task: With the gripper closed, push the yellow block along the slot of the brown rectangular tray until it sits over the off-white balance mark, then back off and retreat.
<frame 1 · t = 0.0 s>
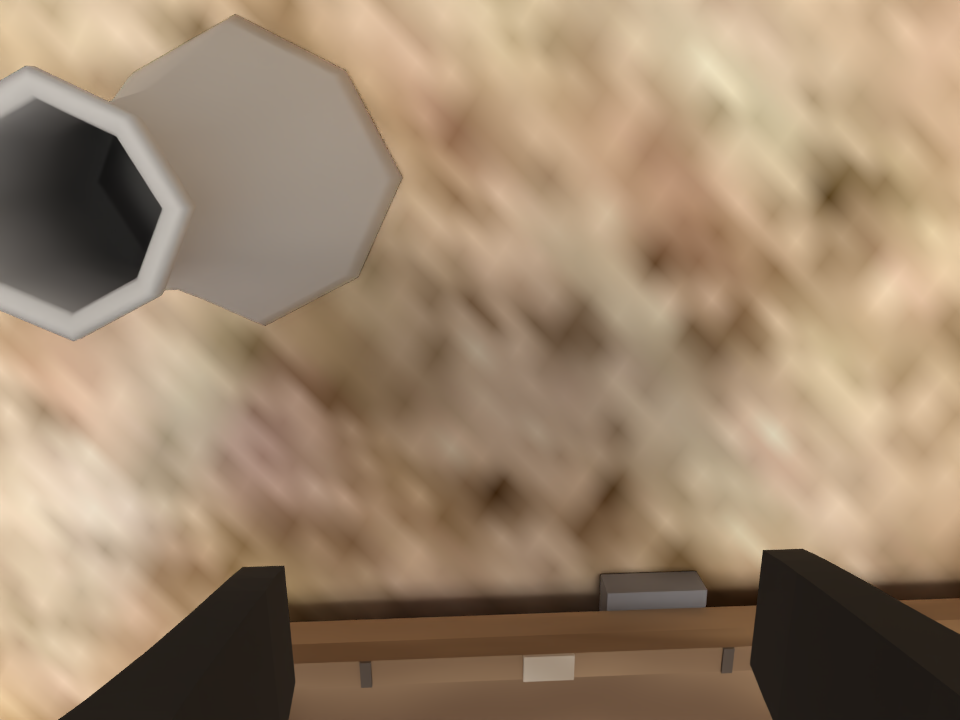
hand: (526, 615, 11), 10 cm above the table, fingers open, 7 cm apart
flask: (255, 178, 19), on the table
brown rectangular tray: (641, 679, 23), on the table
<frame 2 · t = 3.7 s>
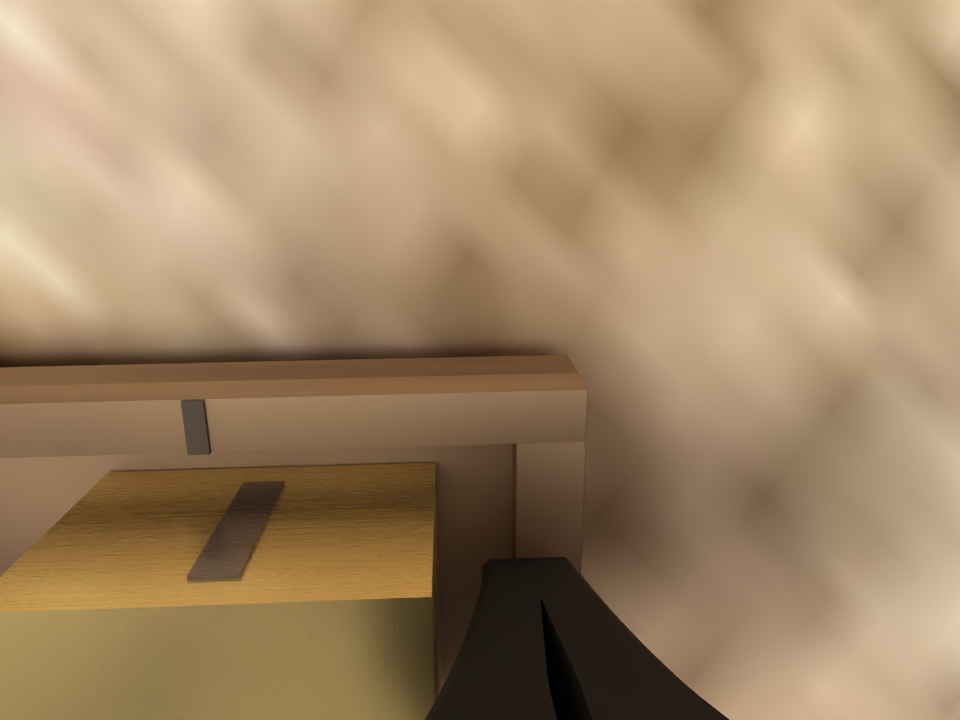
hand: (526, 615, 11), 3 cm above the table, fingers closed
yellow block: (258, 652, 10), point 4 cm above the table, slide at -7.3 cm, touching gripper
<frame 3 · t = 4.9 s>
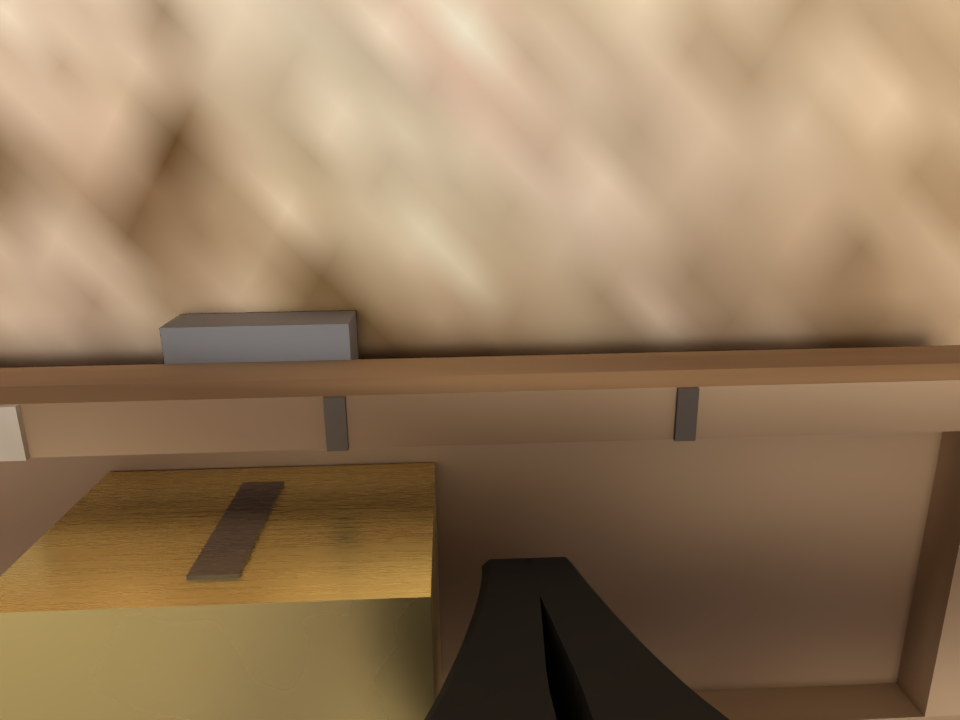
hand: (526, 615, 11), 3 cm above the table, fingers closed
brown rectangular tray: (288, 518, 14), on the table
yellow block: (257, 652, 10), point 4 cm above the table, slide at -0.3 cm, touching gripper
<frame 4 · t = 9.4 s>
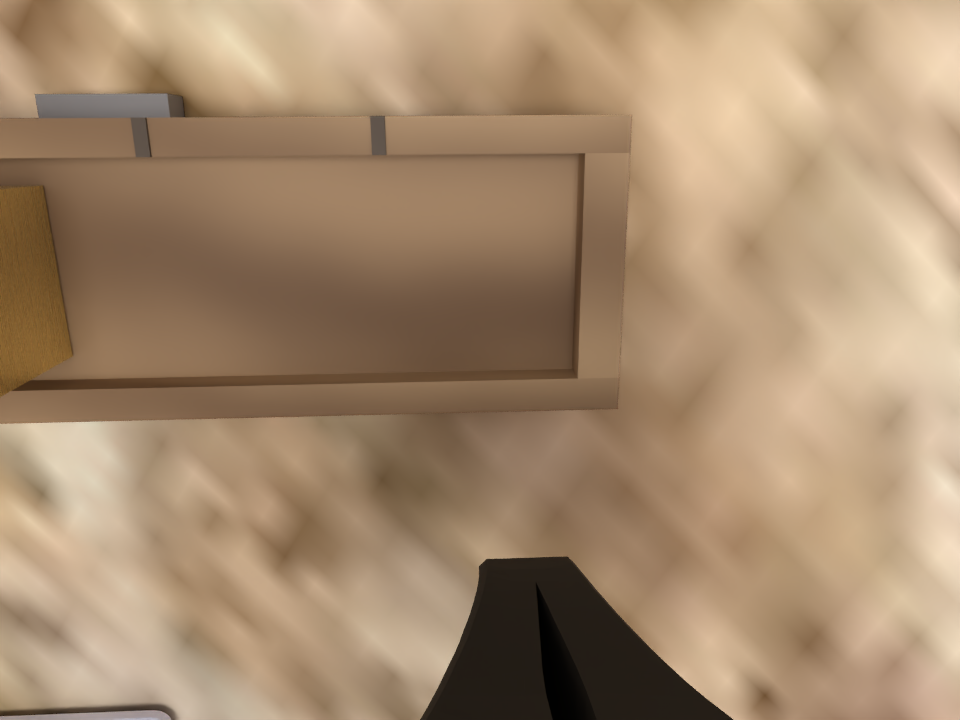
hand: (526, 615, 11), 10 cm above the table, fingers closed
brown rectangular tray: (142, 259, 19), on the table
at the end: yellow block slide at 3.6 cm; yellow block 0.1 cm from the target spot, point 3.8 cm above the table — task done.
